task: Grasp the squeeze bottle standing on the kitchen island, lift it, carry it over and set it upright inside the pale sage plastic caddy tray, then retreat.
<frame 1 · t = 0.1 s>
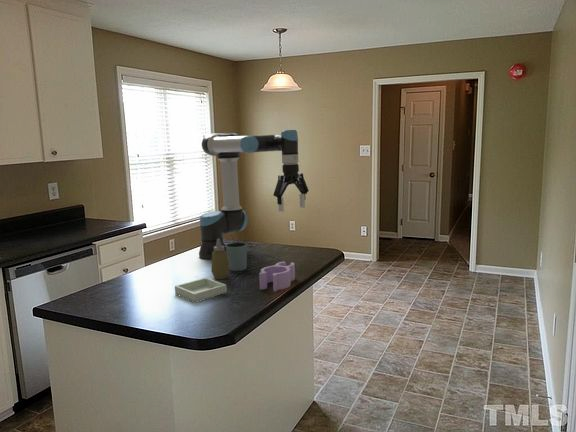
hand: (292, 209, 217), 28 cm above the worktop, fingers open, 13 cm apart
squeeze bottle: (220, 278, 209), on the worktop
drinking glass: (237, 268, 223), on the worktop
caddy tray: (201, 293, 189), on the worktop
clip: (278, 284, 198), on the worktop
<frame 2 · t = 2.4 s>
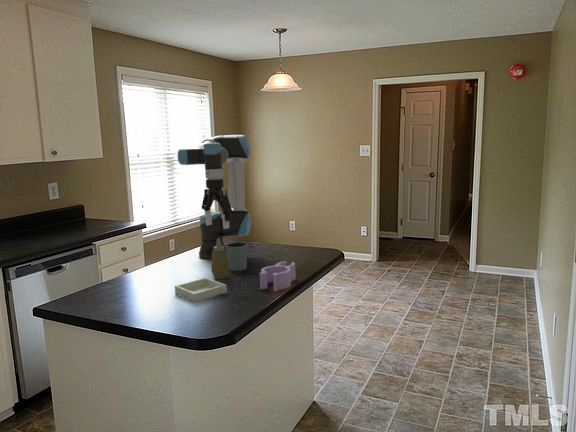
hand: (217, 226, 205), 24 cm above the worktop, fingers open, 13 cm apart
nothing on the worktop moved.
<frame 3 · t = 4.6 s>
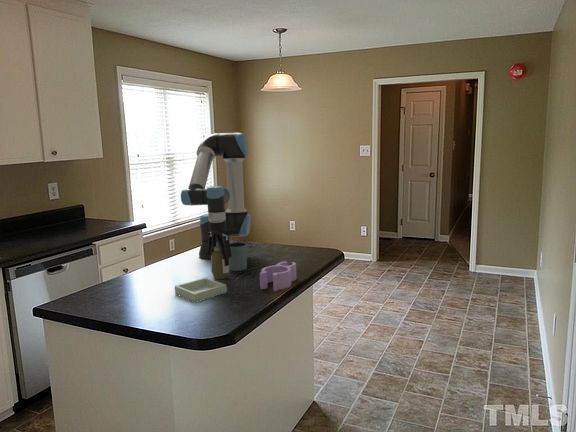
hand: (220, 270, 209), 3 cm above the worktop, fingers closed on squeeze bottle, 8 cm apart
squeeze bottle: (220, 278, 209), on the worktop, touching gripper
everything else where it was.
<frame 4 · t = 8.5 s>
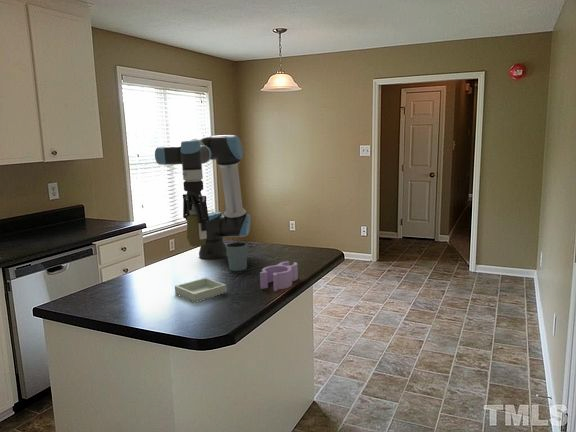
hand: (197, 237, 185), 23 cm above the worktop, fingers closed on squeeze bottle, 8 cm apart
squeeze bottle: (197, 245, 185), point 20 cm above the worktop, touching gripper
everything else where it was.
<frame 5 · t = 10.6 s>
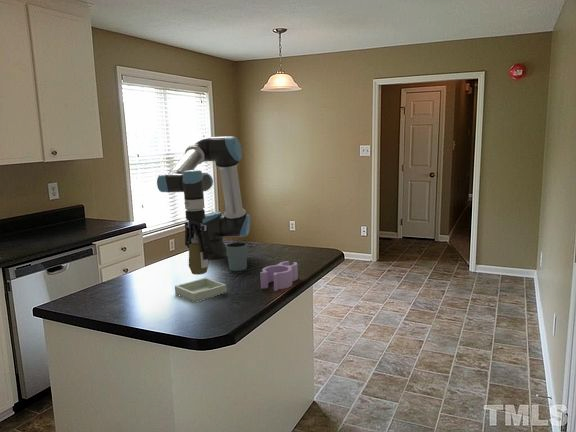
hand: (198, 265, 186), 12 cm above the worktop, fingers closed on squeeze bottle, 8 cm apart
squeeze bottle: (199, 273, 187), point 9 cm above the worktop, touching gripper
when the fingers open (6 cm above the worktop, at t = 12.3 s): squeeze bottle drops 2 cm, resting on caddy tray.
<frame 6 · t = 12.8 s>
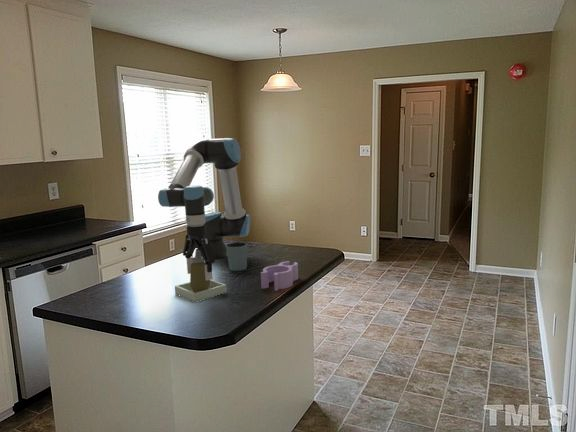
hand: (199, 276, 187), 7 cm above the worktop, fingers open, 13 cm apart
squeeze bottle: (200, 292, 189), resting on caddy tray
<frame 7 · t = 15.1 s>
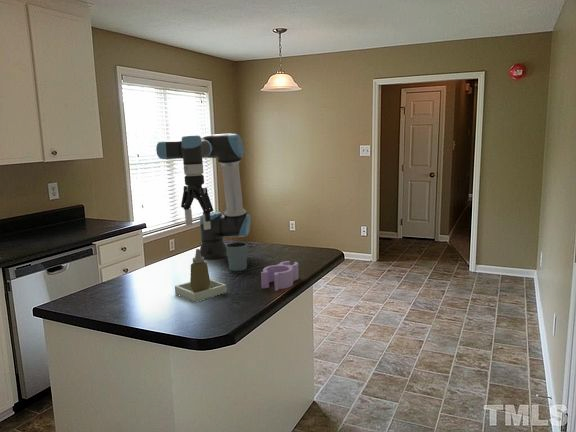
hand: (198, 227, 188), 27 cm above the worktop, fingers open, 13 cm apart
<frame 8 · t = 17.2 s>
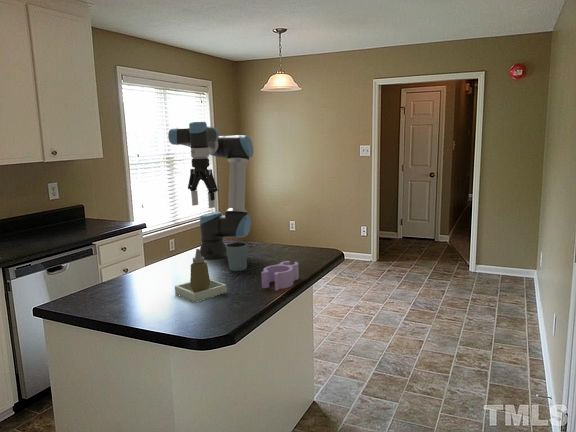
hand: (203, 206, 204), 33 cm above the worktop, fingers open, 13 cm apart
at the end: squeeze bottle inside the target area on the caddy tray (0.1 cm from its centre), point 0.4 cm above the caddy tray's base; squeeze bottle tilted 0°; the gripper is holding nothing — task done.
